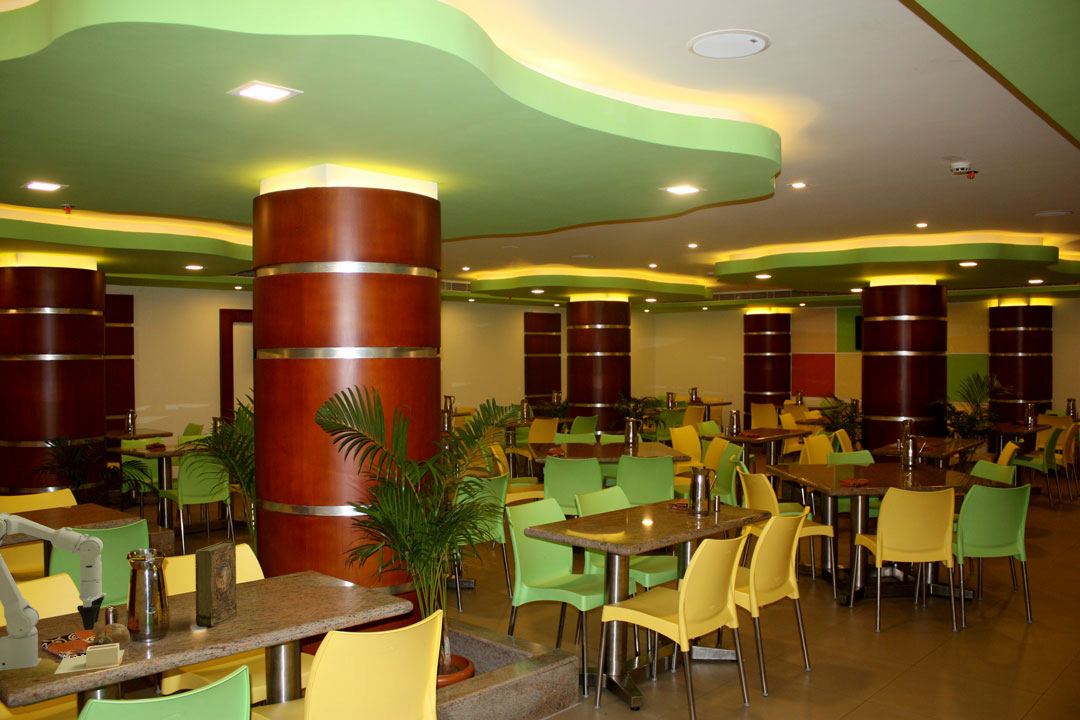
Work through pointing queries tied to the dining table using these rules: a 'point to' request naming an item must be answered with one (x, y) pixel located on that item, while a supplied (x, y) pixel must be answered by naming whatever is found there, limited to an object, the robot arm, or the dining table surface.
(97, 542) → the robot arm
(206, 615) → the book
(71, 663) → the mat
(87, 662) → the card box
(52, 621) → the dining table surface
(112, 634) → the bread roll
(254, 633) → the dining table surface
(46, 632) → the dining table surface
